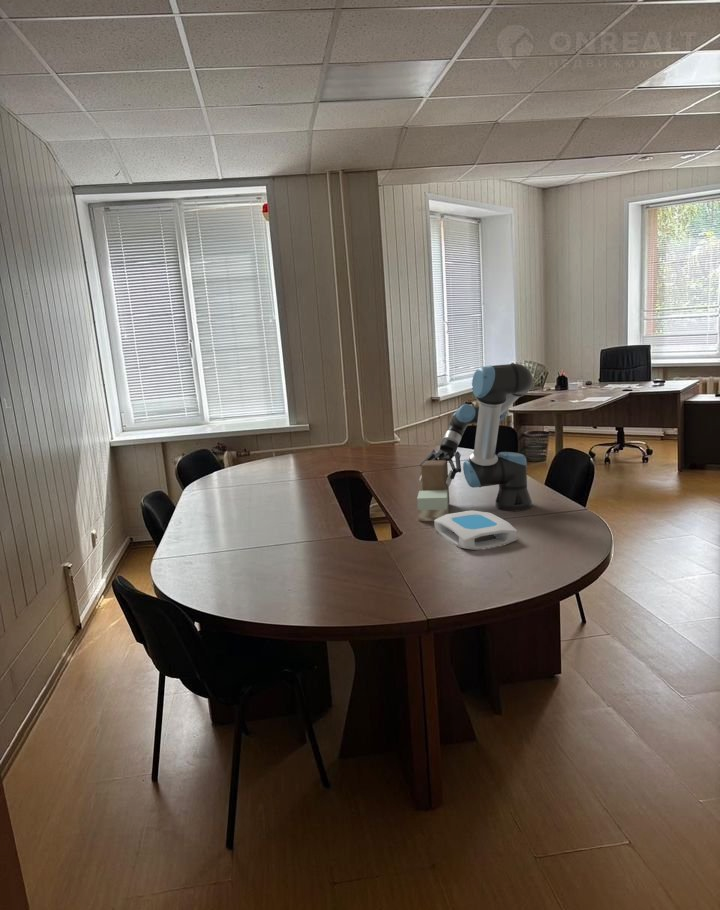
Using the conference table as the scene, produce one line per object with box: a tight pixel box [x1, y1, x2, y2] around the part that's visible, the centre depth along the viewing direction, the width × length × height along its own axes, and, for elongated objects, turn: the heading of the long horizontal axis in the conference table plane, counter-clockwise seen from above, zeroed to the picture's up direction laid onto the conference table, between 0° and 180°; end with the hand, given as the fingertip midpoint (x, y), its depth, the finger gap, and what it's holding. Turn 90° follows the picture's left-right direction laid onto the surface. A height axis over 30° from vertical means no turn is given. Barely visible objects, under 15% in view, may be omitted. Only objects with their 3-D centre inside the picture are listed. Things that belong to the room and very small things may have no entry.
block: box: [420, 460, 450, 505], centre depth 289 cm, size 10×10×20 cm
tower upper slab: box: [416, 490, 449, 511], centre depth 276 cm, size 12×12×5 cm
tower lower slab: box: [417, 506, 449, 522], centre depth 277 cm, size 12×12×5 cm
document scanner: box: [433, 510, 518, 551], centre depth 248 cm, size 21×28×6 cm
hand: (433, 483), depth 289 cm, fingers open, 13 cm apart
